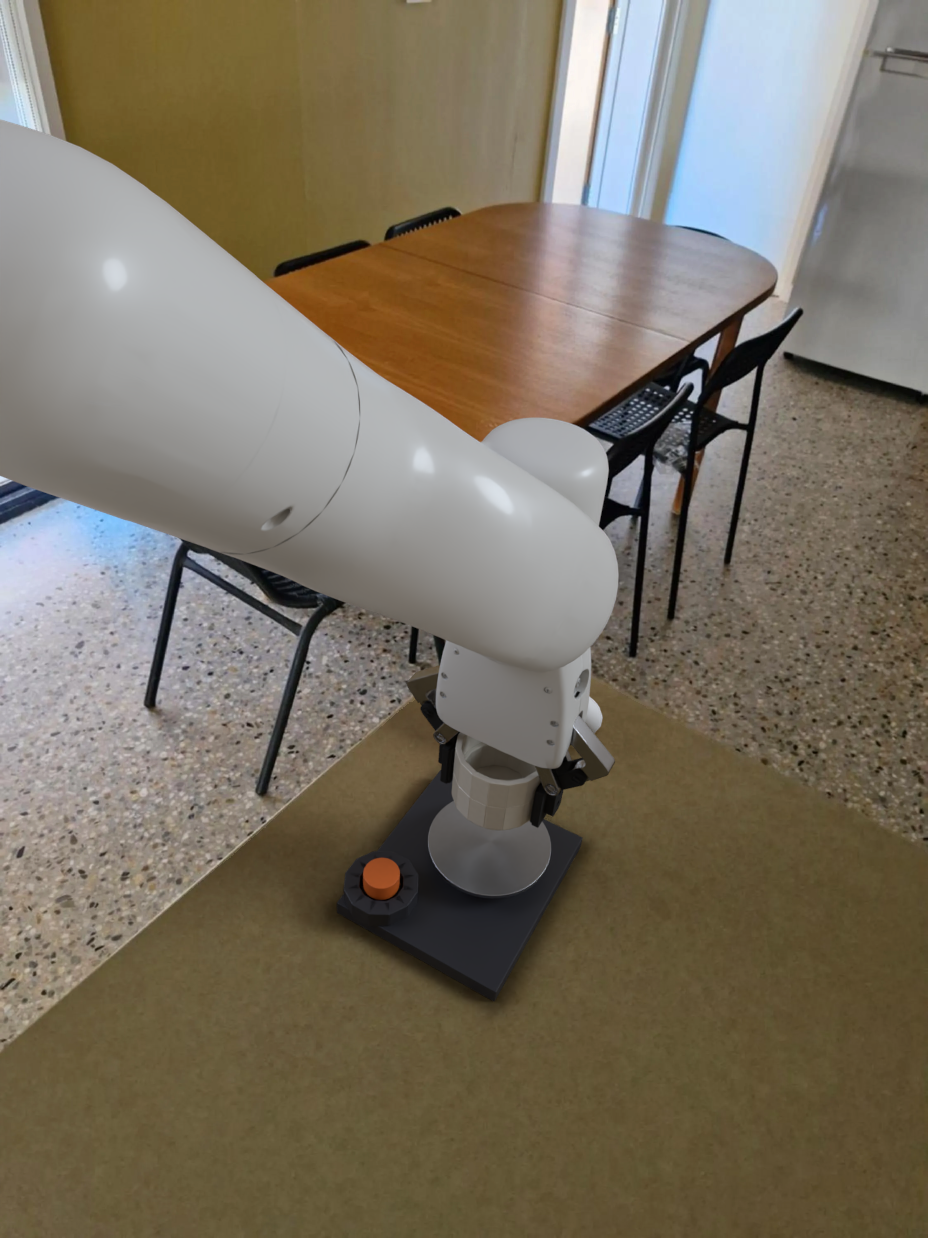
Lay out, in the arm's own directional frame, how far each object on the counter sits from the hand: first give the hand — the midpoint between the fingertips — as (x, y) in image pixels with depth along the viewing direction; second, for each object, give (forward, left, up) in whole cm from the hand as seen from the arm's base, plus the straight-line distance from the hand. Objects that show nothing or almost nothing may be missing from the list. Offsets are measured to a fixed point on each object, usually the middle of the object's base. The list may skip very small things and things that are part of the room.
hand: (497, 790), depth 68 cm
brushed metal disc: (0, 0, -7) cm, 7 cm away
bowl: (0, 0, -1) cm, 1 cm away
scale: (-2, +1, -10) cm, 10 cm away
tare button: (-8, +5, -7) cm, 12 cm away
